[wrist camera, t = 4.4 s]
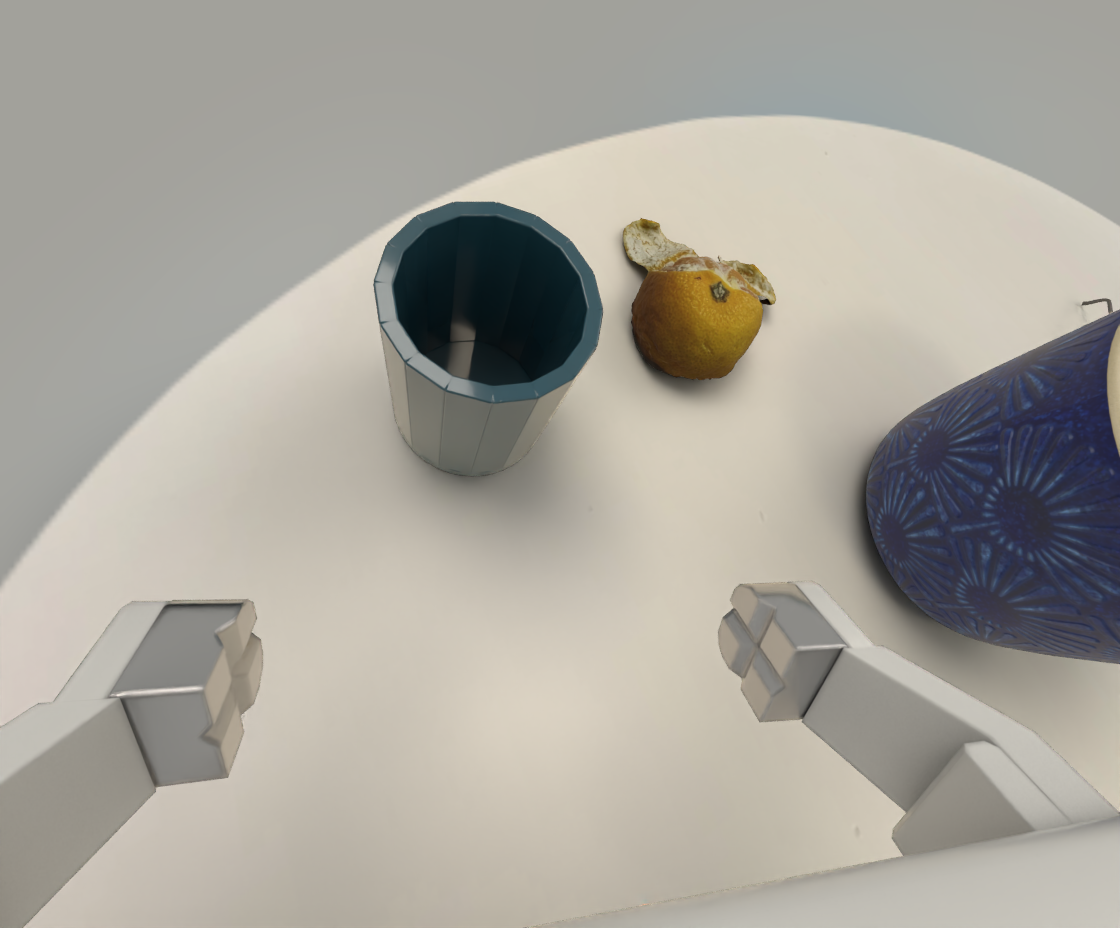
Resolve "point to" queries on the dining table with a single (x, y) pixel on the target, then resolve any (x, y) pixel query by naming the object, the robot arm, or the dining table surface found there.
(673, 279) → the fruit
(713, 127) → the dining table surface
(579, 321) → the cup
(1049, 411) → the planter
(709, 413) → the dining table surface
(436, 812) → the dining table surface
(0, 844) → the robot arm
